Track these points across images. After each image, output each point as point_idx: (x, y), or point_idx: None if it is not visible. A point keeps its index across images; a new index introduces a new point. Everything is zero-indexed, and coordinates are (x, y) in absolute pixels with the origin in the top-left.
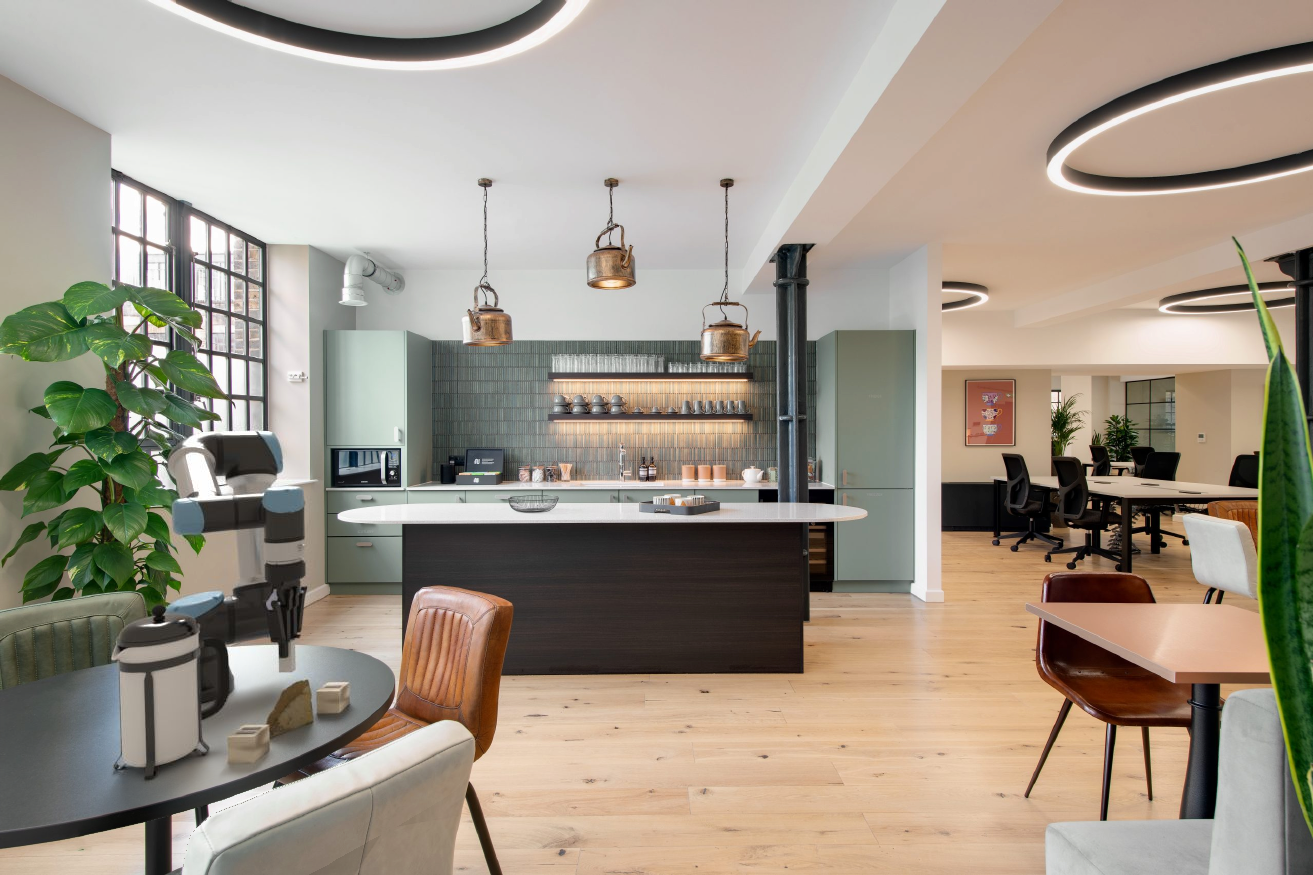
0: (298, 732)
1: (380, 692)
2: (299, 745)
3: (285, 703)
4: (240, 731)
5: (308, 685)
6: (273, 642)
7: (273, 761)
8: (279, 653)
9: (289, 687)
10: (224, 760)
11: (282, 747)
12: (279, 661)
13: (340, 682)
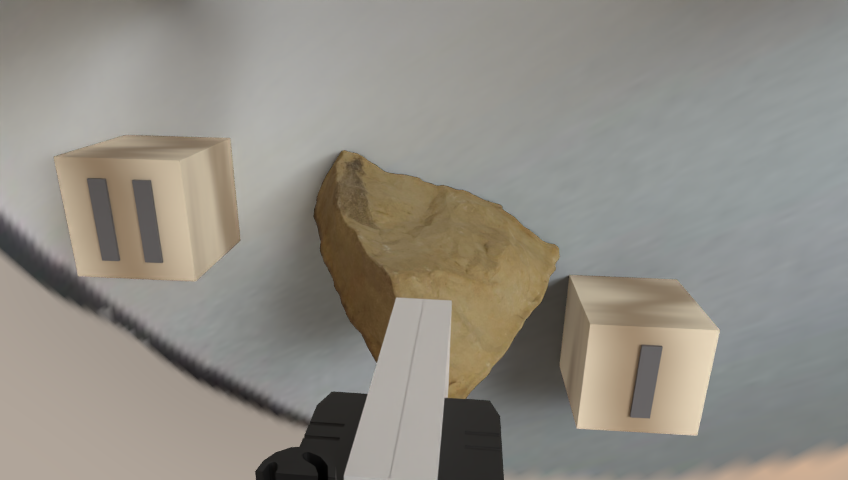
0: None
1: (763, 452)
2: (276, 333)
3: (350, 291)
4: (115, 185)
5: None
6: (287, 452)
7: (156, 299)
8: (312, 429)
9: None
10: (140, 108)
11: (257, 280)
12: (384, 347)
13: (704, 395)
